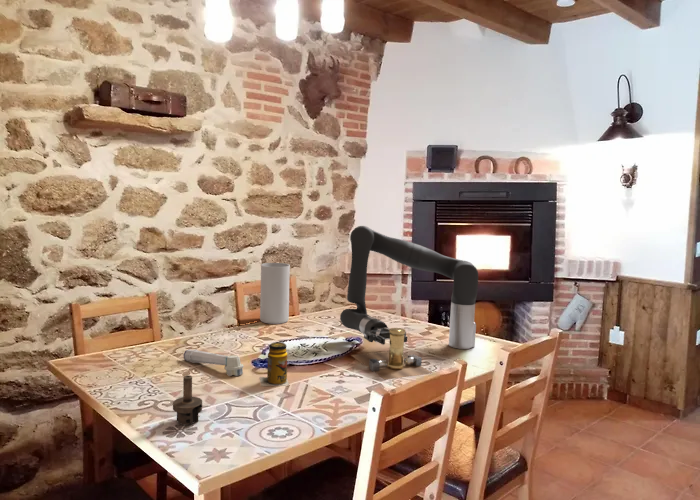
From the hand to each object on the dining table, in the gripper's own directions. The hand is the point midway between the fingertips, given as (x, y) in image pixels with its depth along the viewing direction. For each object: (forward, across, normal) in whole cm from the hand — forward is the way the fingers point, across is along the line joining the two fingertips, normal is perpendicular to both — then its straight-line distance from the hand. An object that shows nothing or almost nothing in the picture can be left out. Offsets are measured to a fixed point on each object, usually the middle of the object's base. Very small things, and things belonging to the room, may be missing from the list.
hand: (395, 340), depth 190 cm
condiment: (-1, -42, +10) cm, 43 cm away
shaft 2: (+1, +6, +9) cm, 11 cm away
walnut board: (-3, 0, +10) cm, 10 cm away
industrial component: (+20, -71, +10) cm, 74 cm away
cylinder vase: (-73, -20, +10) cm, 76 cm away
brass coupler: (+1, 0, +9) cm, 9 cm away
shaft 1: (+1, -6, +9) cm, 11 cm away
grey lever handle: (-20, -57, +10) cm, 61 cm away
